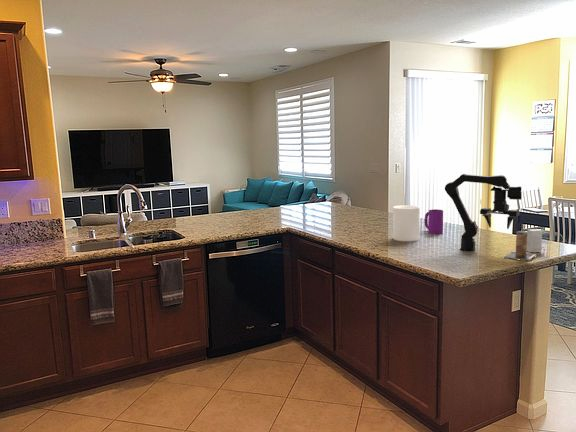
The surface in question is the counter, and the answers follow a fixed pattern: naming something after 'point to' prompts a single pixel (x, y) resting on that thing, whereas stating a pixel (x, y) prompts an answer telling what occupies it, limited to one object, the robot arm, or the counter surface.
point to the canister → (406, 223)
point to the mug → (434, 221)
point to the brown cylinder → (521, 244)
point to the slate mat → (513, 254)
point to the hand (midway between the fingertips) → (498, 228)
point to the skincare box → (534, 240)
